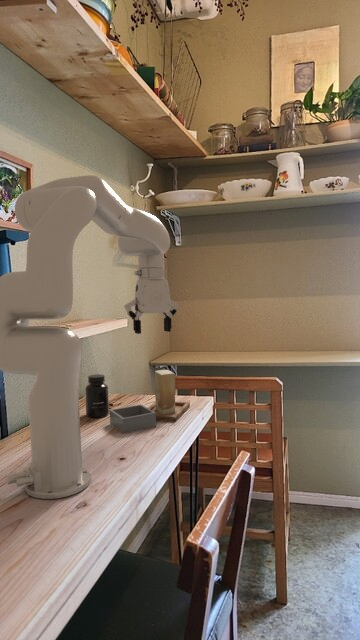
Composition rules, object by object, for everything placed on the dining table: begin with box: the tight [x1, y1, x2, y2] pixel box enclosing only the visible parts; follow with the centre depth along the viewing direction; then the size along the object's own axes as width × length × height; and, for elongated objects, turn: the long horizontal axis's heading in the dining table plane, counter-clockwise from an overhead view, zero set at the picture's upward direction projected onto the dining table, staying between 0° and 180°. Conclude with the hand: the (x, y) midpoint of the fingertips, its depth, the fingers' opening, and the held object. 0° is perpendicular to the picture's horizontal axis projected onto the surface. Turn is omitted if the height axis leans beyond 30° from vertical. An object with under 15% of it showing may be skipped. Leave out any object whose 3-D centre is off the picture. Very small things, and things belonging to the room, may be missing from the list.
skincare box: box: [154, 369, 176, 415], centre depth 133 cm, size 6×4×12 cm
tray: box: [140, 401, 191, 423], centre depth 134 cm, size 15×11×1 cm
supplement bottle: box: [84, 374, 110, 419], centre depth 133 cm, size 7×7×12 cm
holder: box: [109, 404, 157, 434], centre depth 123 cm, size 10×10×4 cm
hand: (152, 332), depth 132 cm, fingers open, 9 cm apart
